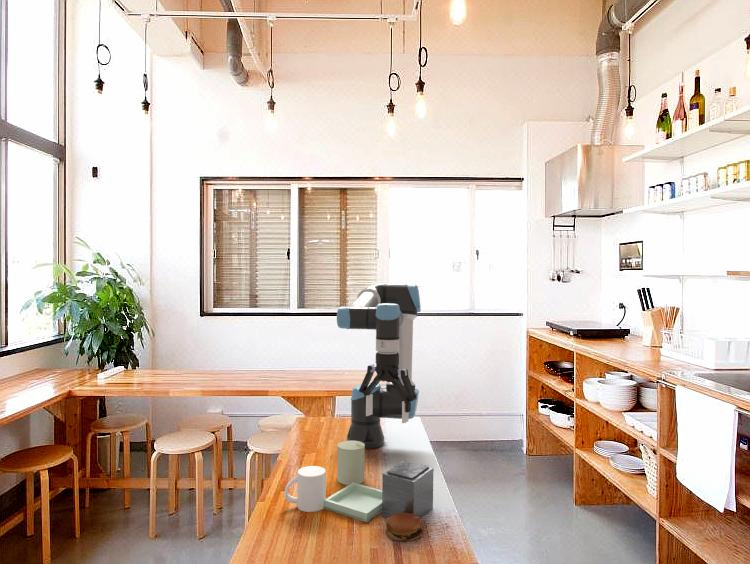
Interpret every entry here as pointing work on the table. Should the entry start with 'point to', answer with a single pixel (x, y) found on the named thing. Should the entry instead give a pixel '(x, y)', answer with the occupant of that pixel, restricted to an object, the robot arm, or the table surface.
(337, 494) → the tray
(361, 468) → the can
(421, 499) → the unit
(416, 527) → the burger
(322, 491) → the mug
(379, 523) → the table surface
